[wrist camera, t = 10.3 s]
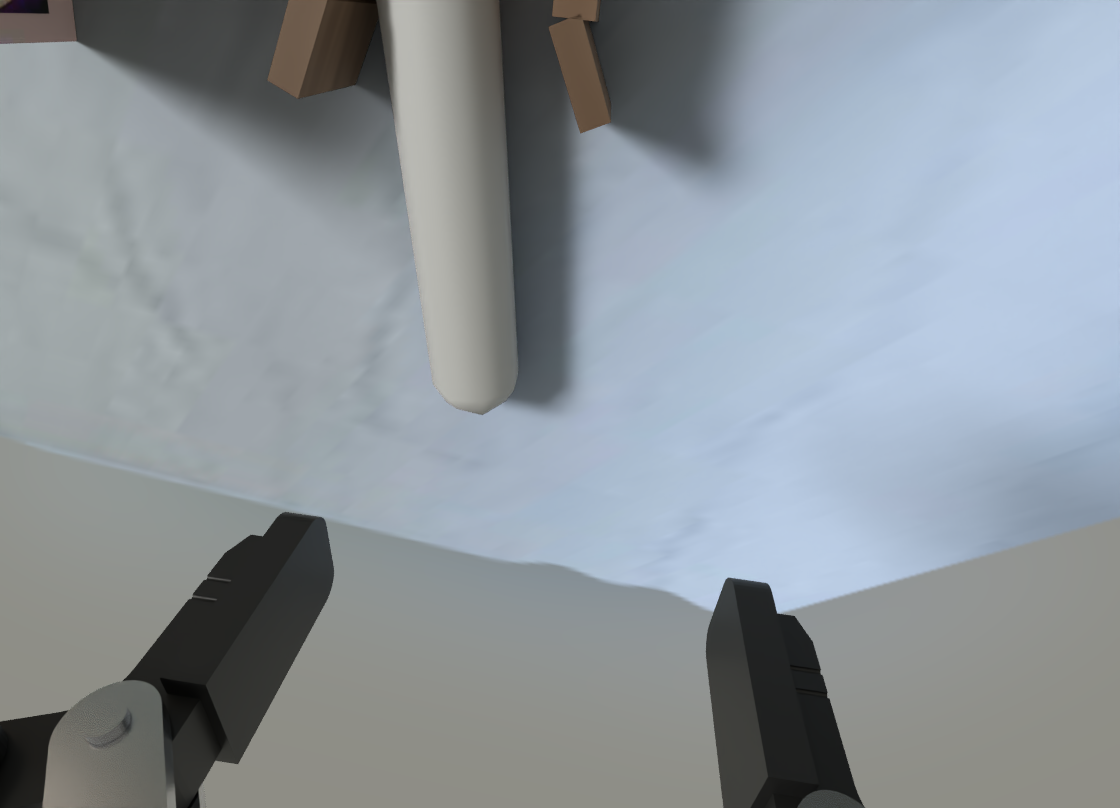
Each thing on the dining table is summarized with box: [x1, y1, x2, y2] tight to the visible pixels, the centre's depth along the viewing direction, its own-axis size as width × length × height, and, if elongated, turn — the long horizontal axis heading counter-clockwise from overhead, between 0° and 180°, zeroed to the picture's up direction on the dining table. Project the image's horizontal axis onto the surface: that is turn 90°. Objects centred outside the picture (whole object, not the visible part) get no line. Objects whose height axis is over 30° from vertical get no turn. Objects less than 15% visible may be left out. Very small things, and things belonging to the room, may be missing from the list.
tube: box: [376, 0, 519, 415], centre depth 27 cm, size 5×5×25 cm
